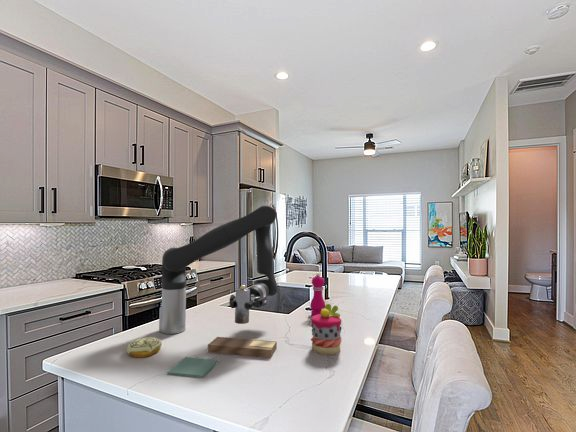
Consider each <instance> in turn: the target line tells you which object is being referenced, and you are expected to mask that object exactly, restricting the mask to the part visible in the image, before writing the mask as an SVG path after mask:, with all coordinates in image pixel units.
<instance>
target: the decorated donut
mask: <svg viewBox="0 0 576 432" xmlns="http://www.w3.org/2000/svg"><path fill="white" fill-rule="evenodd" d="M161 347H162V340H161V339H160V338H157V337H151V336H150V337H140V338H136V339H134V340H132V341H130V342H129V344H128V345H127V348H126V352H127V354H129V355H130V356H132V357H134V358H139V359H141V358H147V357H150V356H152V355H155V354H156V353H158V352H159V351H160V350H161Z"/></svg>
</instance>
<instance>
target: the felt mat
mask: <svg viewBox="0 0 576 432" xmlns="http://www.w3.org/2000/svg"><path fill="white" fill-rule="evenodd" d="M218 363H219V359H215V358H213V359H212V358H202V357H201V358H200V357H193V356H185V357H184V358H183V359H182V360H180V361H179V362H177V363H176V364H175V365H174V366H173V367H172V368H171V369H169V370H168V371H167V375H169V376H170V375H173V376H181V377H191V378H199V379H200V378H201V379H202V378H203V379H204V377H206V375H207V374H208V373H209V372H211V370H212V369H213V368H214V367H215V366H216V365H217V364H218Z"/></svg>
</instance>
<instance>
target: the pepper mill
mask: <svg viewBox="0 0 576 432" xmlns="http://www.w3.org/2000/svg"><path fill="white" fill-rule="evenodd" d="M311 284H312V290H313V297H312V299H311V302H310V305H309V306H310V309H311V312H310V313H311V314H310V315H311V317H313V316H315V315H318V314H321V309H322V308H324V309H325V306H326V303H325V300H324V296H323V291H324V284H325V279H324V278H323V277H322V276H321V274H320V273H318V272H317V273H316V276H314V277H313V278H312V279H311Z"/></svg>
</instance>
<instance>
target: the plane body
mask: <svg viewBox="0 0 576 432" xmlns="http://www.w3.org/2000/svg"><path fill="white" fill-rule="evenodd" d="M277 344H278V343H277V341H276V340H263V339H252V338H251V339H250V338H238V337H237V338H236V337H227V336H226V337H225V336H216V337H215V338H214V339H213V340H211V341H210V342H209V343H208V344H207V353H213V354H223V355H224V354H226V355H235V356H236V355H237V356H247V357H258V358H270V359H271V358H273V355H274V353H275V352H276V351H277V347H278V346H277Z"/></svg>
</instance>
